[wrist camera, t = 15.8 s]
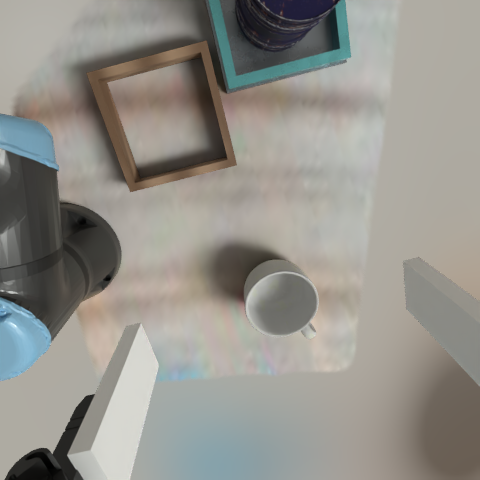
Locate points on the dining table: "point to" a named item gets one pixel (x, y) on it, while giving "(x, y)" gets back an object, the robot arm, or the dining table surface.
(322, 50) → the teal square tray
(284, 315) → the teacup
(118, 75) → the walnut holder
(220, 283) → the dining table surface
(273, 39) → the navy oil drum
